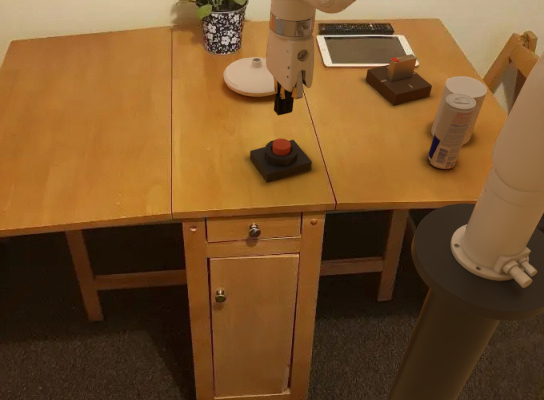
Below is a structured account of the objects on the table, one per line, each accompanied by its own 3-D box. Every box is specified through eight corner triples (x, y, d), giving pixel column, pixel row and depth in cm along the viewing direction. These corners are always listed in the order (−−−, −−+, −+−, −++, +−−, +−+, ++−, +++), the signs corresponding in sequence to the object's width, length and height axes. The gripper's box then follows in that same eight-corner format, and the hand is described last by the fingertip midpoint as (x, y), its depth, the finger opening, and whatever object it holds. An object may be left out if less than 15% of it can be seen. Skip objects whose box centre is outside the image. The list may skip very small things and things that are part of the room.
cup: (465, 149, 123) (482, 101, 114) (426, 138, 126) (441, 90, 117) (473, 129, 128) (490, 82, 120) (436, 119, 131) (451, 72, 123)
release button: (285, 143, 118) (285, 136, 117) (293, 153, 116) (294, 146, 115) (269, 147, 117) (269, 140, 116) (277, 158, 115) (277, 151, 114)
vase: (280, 67, 147) (282, 41, 142) (294, 101, 136) (297, 75, 131) (219, 71, 146) (219, 45, 141) (228, 106, 134) (228, 80, 129)
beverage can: (460, 162, 120) (482, 100, 109) (446, 174, 117) (467, 112, 107) (436, 149, 123) (455, 88, 112) (421, 161, 120) (440, 100, 109)
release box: (292, 147, 123) (294, 132, 120) (311, 170, 118) (313, 154, 115) (249, 159, 120) (250, 143, 118) (266, 182, 115) (267, 167, 112)
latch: (407, 72, 140) (412, 52, 136) (412, 76, 138) (417, 56, 135) (386, 77, 138) (390, 57, 134) (391, 81, 137) (395, 61, 133)
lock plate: (429, 96, 138) (432, 84, 135) (393, 105, 135) (396, 94, 132) (399, 71, 146) (402, 60, 143) (365, 80, 143) (367, 68, 141)
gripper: (334, 37, 94) (319, 129, 107) (291, -1, 104) (282, 87, 116) (292, 46, 92) (283, 138, 104) (253, 6, 102) (248, 95, 114)
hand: (282, 111), depth 110 cm, fingers closed
